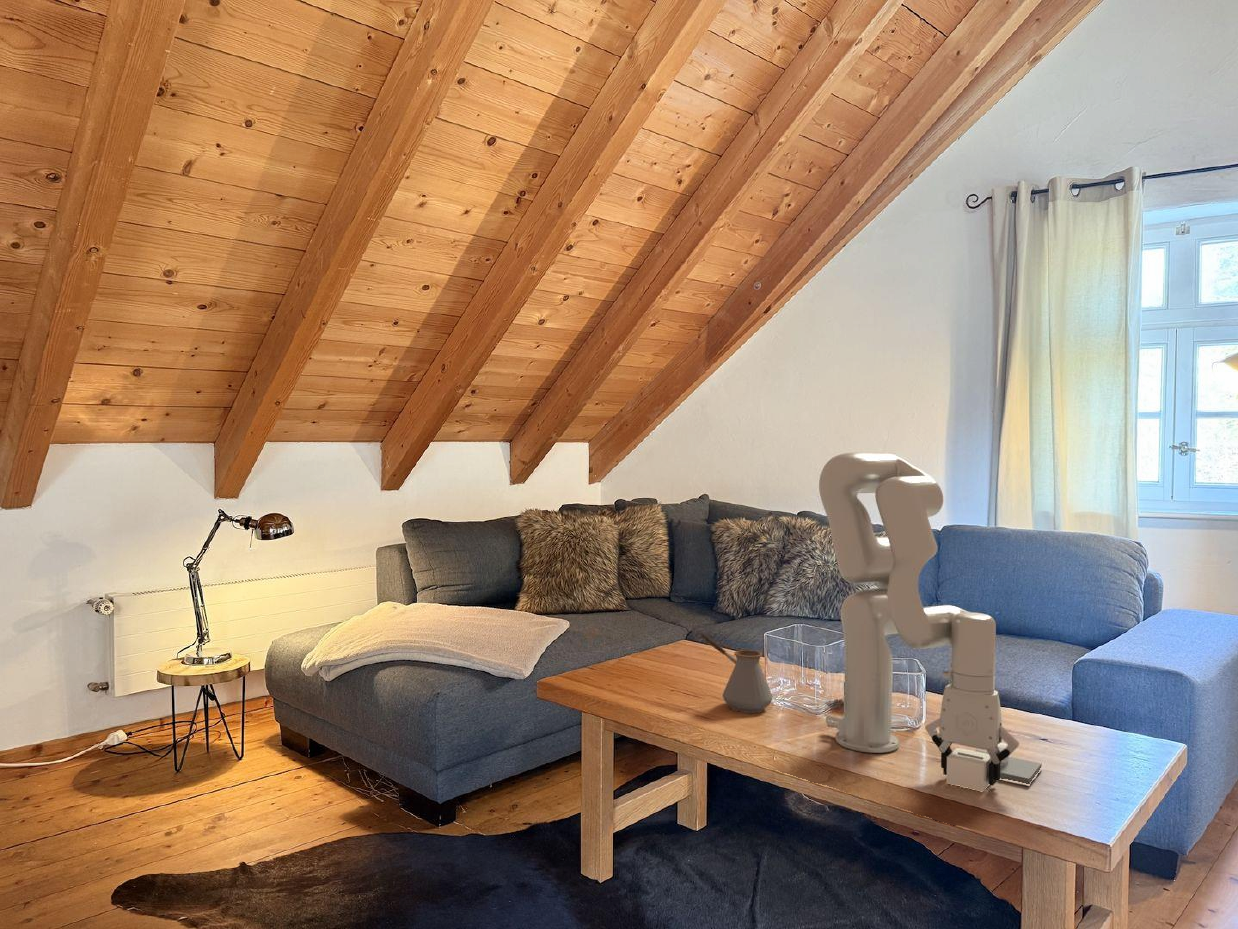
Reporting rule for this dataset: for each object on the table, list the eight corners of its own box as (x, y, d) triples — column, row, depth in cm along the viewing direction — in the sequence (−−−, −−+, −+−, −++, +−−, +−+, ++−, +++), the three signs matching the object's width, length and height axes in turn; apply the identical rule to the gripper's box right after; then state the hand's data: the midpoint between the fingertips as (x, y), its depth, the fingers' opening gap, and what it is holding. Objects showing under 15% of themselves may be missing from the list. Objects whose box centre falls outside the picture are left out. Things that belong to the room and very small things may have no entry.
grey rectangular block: (994, 764, 169) (994, 746, 169) (998, 760, 172) (999, 742, 172) (1004, 766, 168) (1004, 748, 168) (1008, 762, 171) (1009, 744, 171)
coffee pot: (782, 709, 208) (783, 645, 208) (749, 719, 200) (750, 652, 200) (714, 689, 224) (715, 629, 224) (682, 697, 217) (683, 635, 216)
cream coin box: (946, 784, 163) (947, 756, 163) (956, 774, 168) (957, 746, 168) (983, 793, 160) (983, 764, 159) (992, 782, 165) (993, 754, 164)
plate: (960, 771, 170) (961, 763, 170) (975, 757, 178) (976, 749, 178) (1028, 787, 163) (1029, 778, 163) (1041, 771, 171) (1041, 763, 171)
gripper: (917, 677, 166) (915, 773, 166) (1018, 694, 155) (1015, 796, 156) (930, 670, 172) (928, 761, 172) (1028, 685, 161) (1025, 783, 162)
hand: (970, 777), depth 164 cm, fingers open, 7 cm apart
